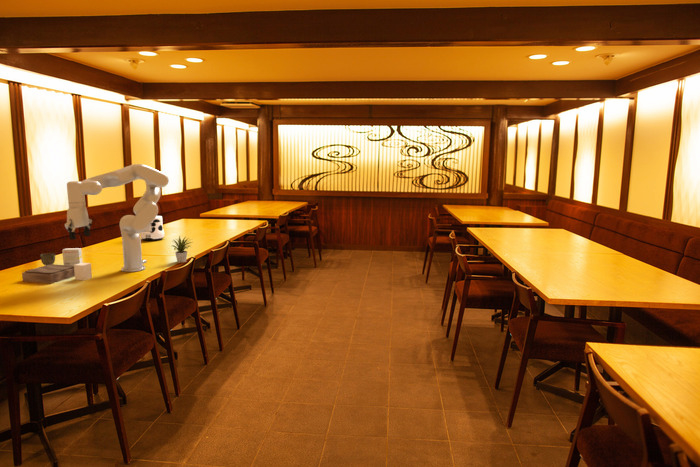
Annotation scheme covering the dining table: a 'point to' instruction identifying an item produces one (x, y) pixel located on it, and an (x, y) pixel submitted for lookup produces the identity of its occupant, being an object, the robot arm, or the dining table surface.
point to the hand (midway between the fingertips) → (80, 237)
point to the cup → (48, 258)
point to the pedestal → (49, 273)
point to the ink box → (72, 256)
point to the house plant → (181, 250)
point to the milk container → (154, 230)
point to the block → (82, 271)
